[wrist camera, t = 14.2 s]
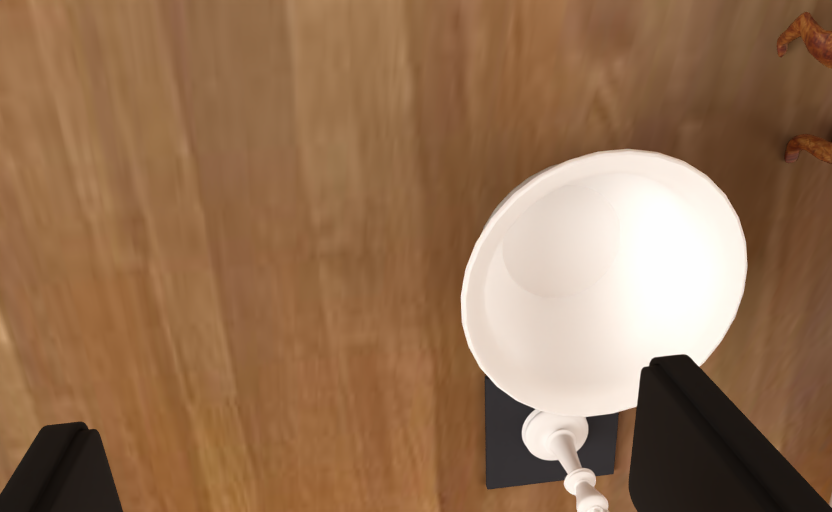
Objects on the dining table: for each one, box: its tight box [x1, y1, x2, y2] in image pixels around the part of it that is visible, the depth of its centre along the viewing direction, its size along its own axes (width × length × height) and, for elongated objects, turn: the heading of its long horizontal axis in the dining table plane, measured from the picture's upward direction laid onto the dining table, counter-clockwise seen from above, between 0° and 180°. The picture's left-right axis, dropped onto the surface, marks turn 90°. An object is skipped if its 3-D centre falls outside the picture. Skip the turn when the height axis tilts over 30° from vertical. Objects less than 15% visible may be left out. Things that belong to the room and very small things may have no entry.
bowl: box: [461, 149, 747, 417], centre depth 39 cm, size 16×16×8 cm
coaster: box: [485, 376, 619, 489], centre depth 49 cm, size 10×10×1 cm
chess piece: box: [522, 409, 609, 512], centre depth 44 cm, size 5×5×10 cm
